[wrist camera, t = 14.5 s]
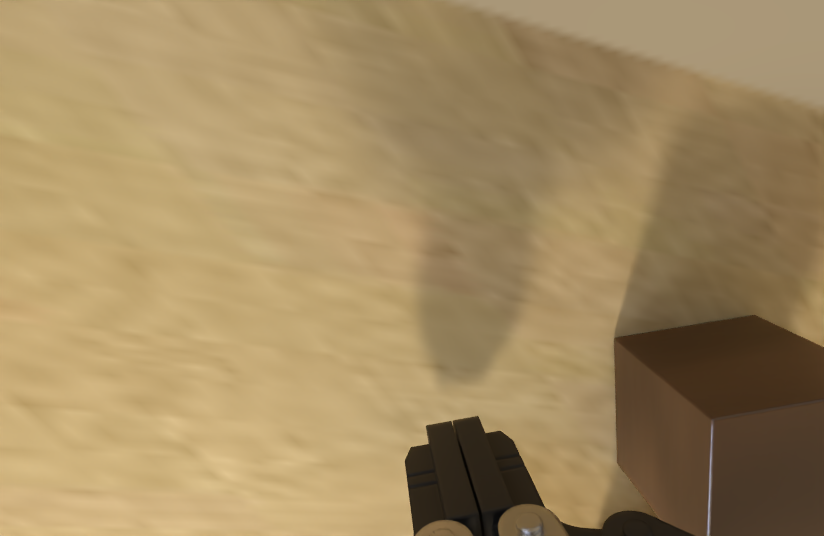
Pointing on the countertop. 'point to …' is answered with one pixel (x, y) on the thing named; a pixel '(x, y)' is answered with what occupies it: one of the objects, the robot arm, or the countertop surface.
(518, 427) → the countertop surface
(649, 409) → the walnut block
